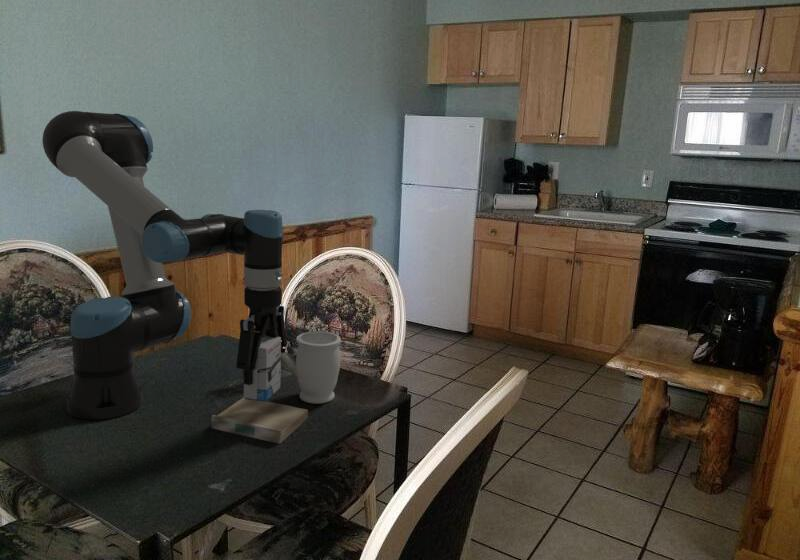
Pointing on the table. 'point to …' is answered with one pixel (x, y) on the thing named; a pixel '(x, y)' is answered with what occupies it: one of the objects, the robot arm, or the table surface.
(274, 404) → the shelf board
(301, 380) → the jar
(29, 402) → the table surface
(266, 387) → the ink box
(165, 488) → the table surface
